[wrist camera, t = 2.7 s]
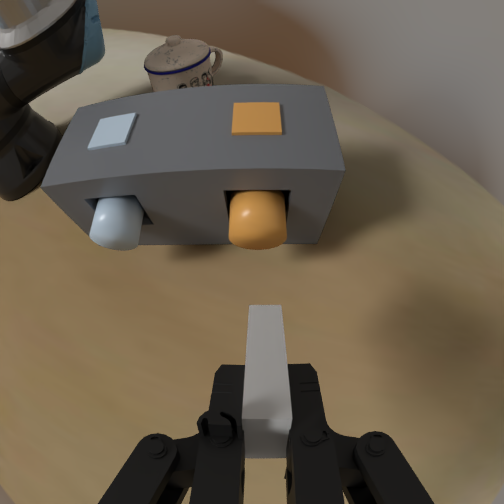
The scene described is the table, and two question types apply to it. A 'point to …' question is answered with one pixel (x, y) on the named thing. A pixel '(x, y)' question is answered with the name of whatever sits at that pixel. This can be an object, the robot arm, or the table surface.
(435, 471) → the table surface
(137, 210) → the pale blue button
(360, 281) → the table surface
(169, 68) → the teacup with lid
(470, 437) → the table surface
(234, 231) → the orange button
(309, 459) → the robot arm
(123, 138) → the button console
